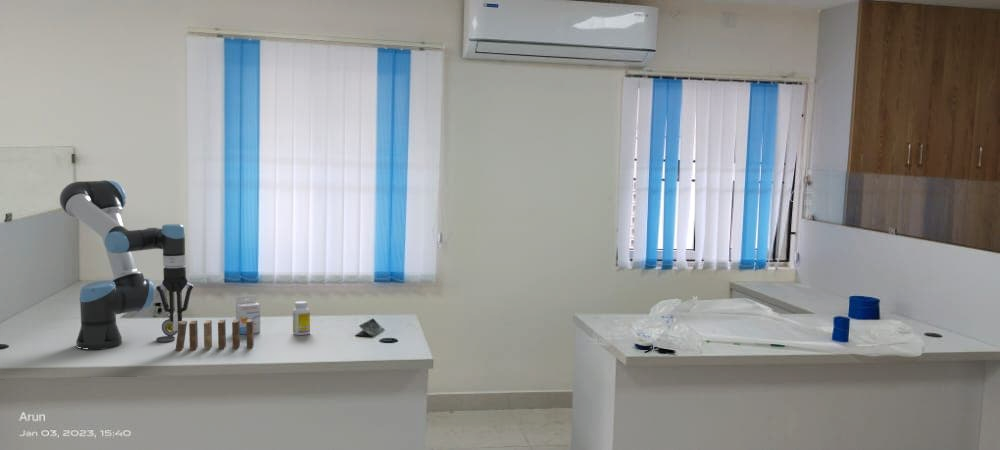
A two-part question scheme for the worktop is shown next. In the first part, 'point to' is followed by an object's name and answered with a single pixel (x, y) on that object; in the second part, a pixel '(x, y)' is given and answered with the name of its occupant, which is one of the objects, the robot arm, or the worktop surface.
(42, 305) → the worktop surface
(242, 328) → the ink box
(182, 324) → the domino
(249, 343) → the domino
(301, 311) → the supplement bottle
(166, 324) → the pocket watch
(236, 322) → the domino
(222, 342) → the domino
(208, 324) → the tile
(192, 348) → the domino
